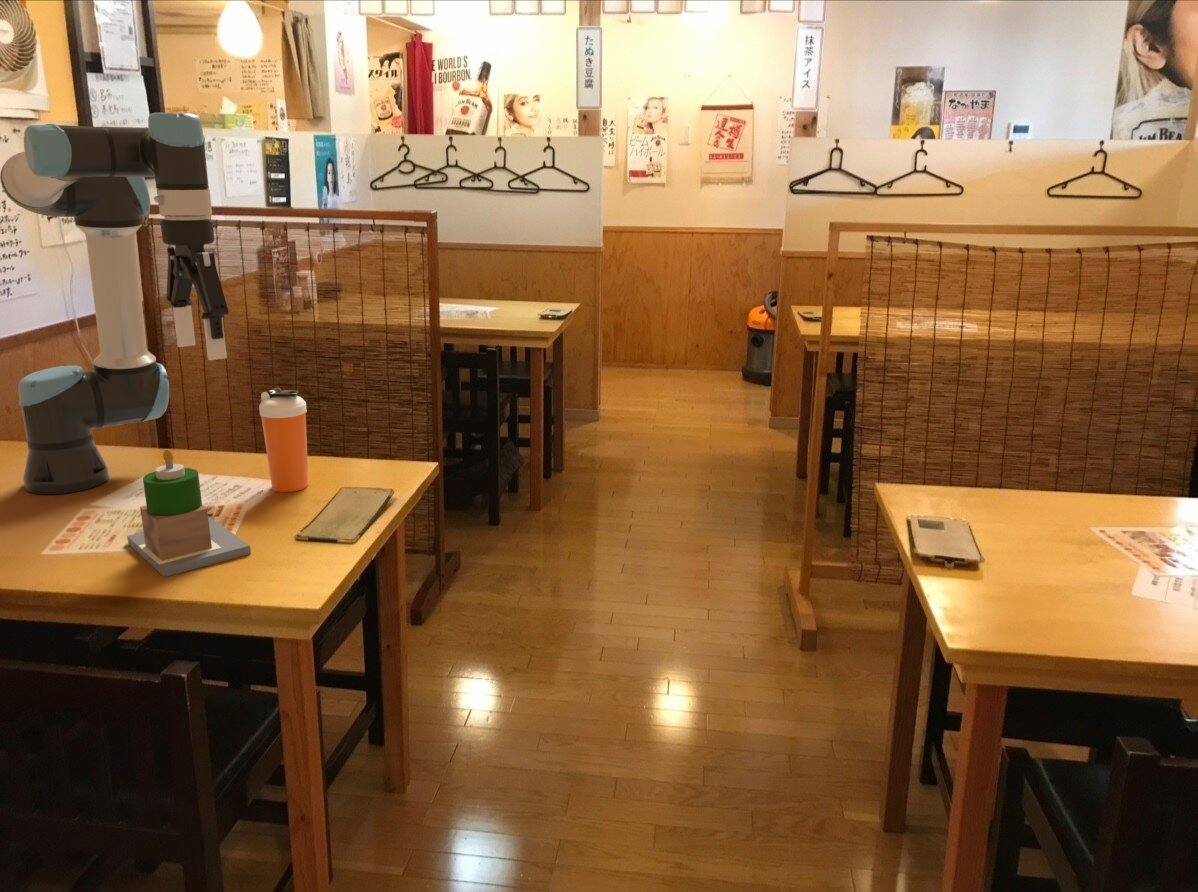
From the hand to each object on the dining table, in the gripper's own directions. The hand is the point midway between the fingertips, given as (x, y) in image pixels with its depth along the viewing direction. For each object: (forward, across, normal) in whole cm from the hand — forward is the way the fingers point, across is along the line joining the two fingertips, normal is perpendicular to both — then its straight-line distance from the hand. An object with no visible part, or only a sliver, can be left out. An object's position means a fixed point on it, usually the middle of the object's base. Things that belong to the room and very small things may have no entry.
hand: (201, 352), depth 151 cm
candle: (+25, 0, -7) cm, 26 cm away
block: (+32, +1, -8) cm, 33 cm away
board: (+34, -2, -5) cm, 34 cm away
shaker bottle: (+34, -21, +22) cm, 45 cm away
